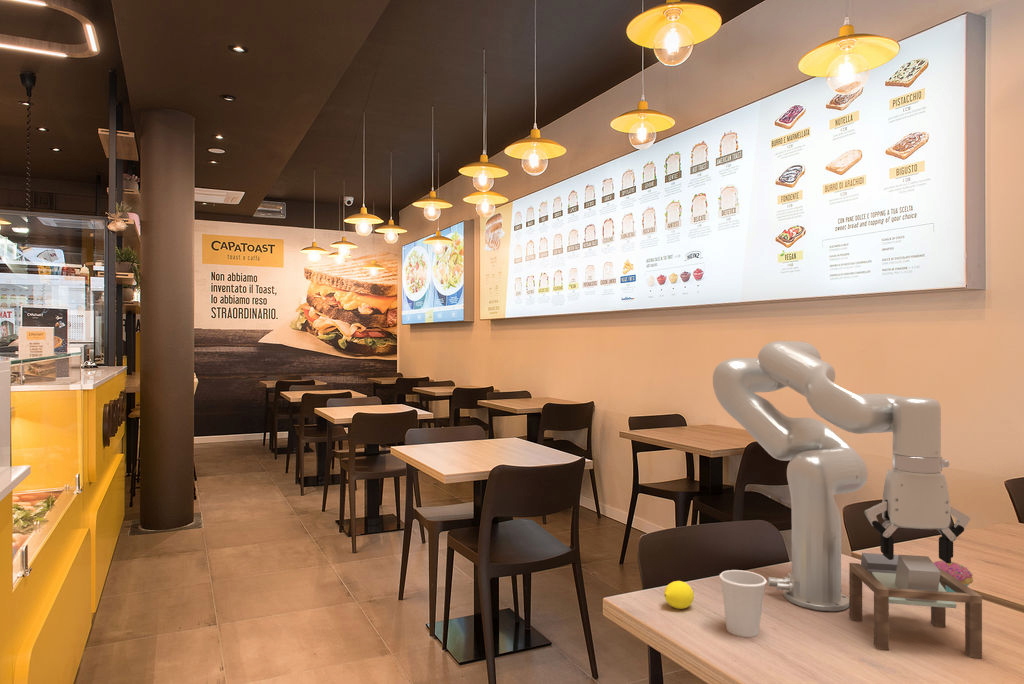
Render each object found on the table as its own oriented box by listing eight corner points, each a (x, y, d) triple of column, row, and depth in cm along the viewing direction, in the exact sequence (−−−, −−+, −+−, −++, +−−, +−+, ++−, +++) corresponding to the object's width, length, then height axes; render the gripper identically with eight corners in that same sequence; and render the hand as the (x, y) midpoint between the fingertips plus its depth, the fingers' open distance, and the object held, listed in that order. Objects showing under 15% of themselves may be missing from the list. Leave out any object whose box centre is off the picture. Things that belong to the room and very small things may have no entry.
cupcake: (974, 605, 136) (974, 547, 136) (926, 596, 140) (926, 540, 140) (971, 592, 143) (971, 538, 143) (925, 585, 147) (925, 532, 148)
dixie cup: (709, 625, 124) (710, 572, 124) (743, 618, 127) (743, 567, 127) (741, 643, 116) (741, 587, 116) (776, 636, 119) (776, 581, 120)
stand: (877, 649, 114) (877, 589, 114) (849, 616, 129) (849, 562, 129) (982, 658, 111) (982, 596, 111) (941, 623, 126) (941, 568, 126)
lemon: (681, 603, 136) (684, 577, 136) (699, 612, 131) (702, 585, 132) (655, 603, 133) (658, 577, 134) (672, 613, 128) (675, 585, 129)
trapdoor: (884, 611, 117) (886, 596, 116) (857, 566, 131) (859, 552, 130) (957, 617, 115) (960, 601, 114) (922, 571, 129) (924, 556, 128)
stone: (894, 583, 121) (898, 554, 120) (924, 585, 120) (928, 556, 119) (905, 599, 116) (909, 570, 115) (936, 601, 115) (940, 572, 114)
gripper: (958, 463, 121) (958, 556, 120) (858, 459, 124) (857, 550, 123) (979, 470, 113) (980, 569, 113) (872, 466, 116) (872, 562, 116)
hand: (916, 559), depth 118 cm, fingers open, 9 cm apart
